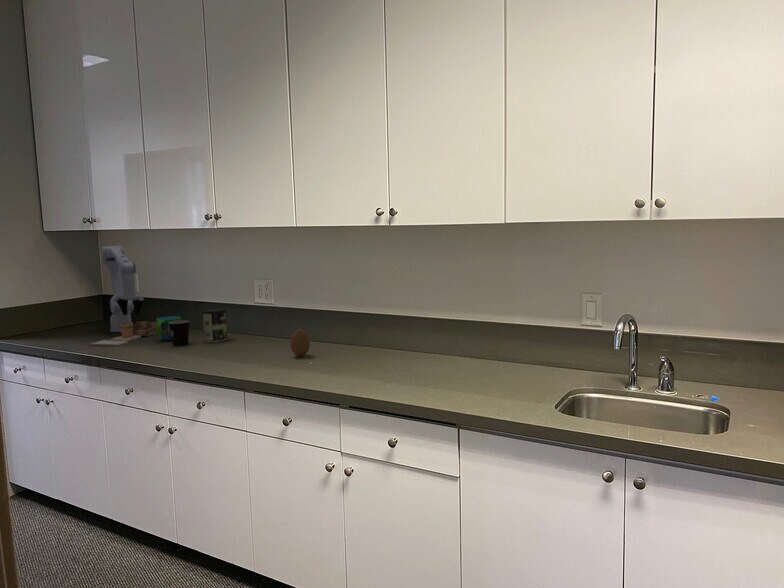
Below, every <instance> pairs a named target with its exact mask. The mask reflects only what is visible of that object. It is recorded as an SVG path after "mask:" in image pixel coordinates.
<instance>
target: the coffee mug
mask: <svg viewBox="0 0 784 588" xmlns="http://www.w3.org/2000/svg"><path fill="white" fill-rule="evenodd" d="M169 327H170V332H171V337H172V340H171V341H172V342H171V343H172V346H174V345H181V346H185V345H184V344H187V345H188V344H189V338H190V337H189V336H190V334H189V333H190V332H189V331H190V320H183V319H181V320H180V321H172V322H169Z"/></svg>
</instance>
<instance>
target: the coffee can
mask: <svg viewBox="0 0 784 588" xmlns="http://www.w3.org/2000/svg"><path fill="white" fill-rule="evenodd" d="M226 310H227V309H226V308H222V307H215V308H214V307H212V308H205V309H202V310H201V313H202V325H203V336H204V337H203V338H204V339H203V340H204V342H205V343H220V341H221V342H225V341H227V340H228V330H227V317H226V316H227V315H226V314H227V313H226ZM224 340H225V341H224Z"/></svg>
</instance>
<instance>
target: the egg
mask: <svg viewBox="0 0 784 588" xmlns="http://www.w3.org/2000/svg"><path fill="white" fill-rule="evenodd" d="M310 343H311V342H310V337H309V335H308V334H307V332H306V331H305V330H304V329H301V328H298V329H296V330H295V331H294V332H293V333H292V335H291V338H290V341H289V345H290V349H291V351H292V353H293V355H295V356H297V357H304V356H305V355H307V354H308V352H309V350H310V346H311V344H310Z"/></svg>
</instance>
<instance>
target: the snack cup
mask: <svg viewBox="0 0 784 588" xmlns="http://www.w3.org/2000/svg"><path fill="white" fill-rule="evenodd" d="M180 320H182V318H181V316H178V315H177V316H176V315H175V316H173V315H172V316H169V315H168V316H163V317H157V318H156V319H155V322H157V329H156V333H157V335H156V336H159V337H160V339H161V340H162V341H165V342H167V341H166V340H170V341H172V337H171V332H170V327H169V322H172V321H180Z"/></svg>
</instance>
